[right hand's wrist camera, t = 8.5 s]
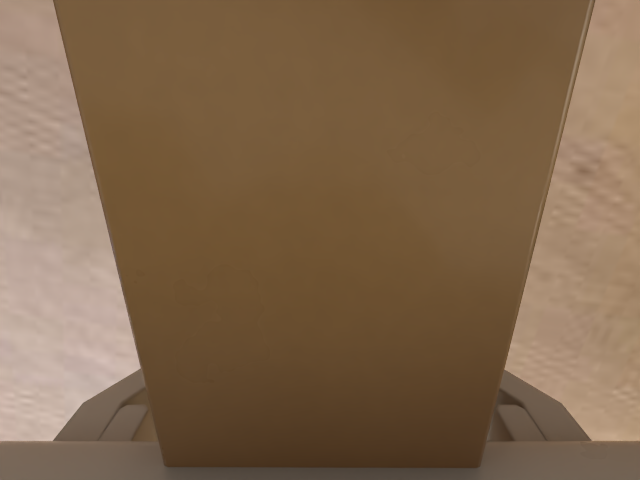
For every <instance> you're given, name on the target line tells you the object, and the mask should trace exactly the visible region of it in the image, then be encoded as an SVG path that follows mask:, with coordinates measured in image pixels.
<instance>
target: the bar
mask: <svg viewBox="0 0 640 480" xmlns="http://www.w3.org/2000/svg"><path fill="white" fill-rule="evenodd" d="M53 2H54V6H55V10H56V14H57V19H58V23H59V27H60V31H61V35H62V40H63V44H64V48H65V52H66V56H67V61H68V65H69V69H70V73H71V77H72V81H73V86H74V90H75V94H76V98H77V102H78V107H79V111H80V115H81V119H82V123H83V128H84V132H85V136H86V140H87V144H88V148H89V153H90V157H91V161H92V165H93V169H94V174H95V178H96V182H97V186H98V190H99V194H100V199H101V203H102V207H103V211H104V215H105V220H106V224H107V228H108V232H109V236H110V241H111V245H112V249H113V253H114V257H115V261H116V266H117V270H118V274H119V278H120V282H121V287H122V291H123V295H124V299H125V303H126V308H127V312H128V316H129V320H130V324H131V328H132V333H133V337H134V341H135V345H136V349H137V354H138V358H139V362H140V366H141V370H142V374H143V379H144V383H145V387H146V391H147V395H148V400H149V404H150V408H151V412H152V416H153V421H154V425H155V429H156V433H157V437H158V441H159V446H160V450H161V454H162V458H163V462H164V466H167V467H290V468H478V467H480V465H481V461H482V457H483V453H484V449H485V445H486V441H487V437H488V433H489V429H490V424H491V420H492V416H493V412H494V408H495V404H496V400H497V396H498V392H499V388H500V384H501V380H502V376H503V372H504V368H505V364H506V360H507V356H508V352H509V348H510V344H511V339H512V335H513V331H514V327H515V323H516V319H517V315H518V311H519V307H520V303H521V299H522V295H523V291H524V287H525V283H526V279H527V275H528V271H529V267H530V263H531V258H532V254H533V250H534V246H535V242H536V238H537V234H538V230H539V226H540V222H541V218H542V214H543V210H544V206H545V202H546V198H547V194H548V190H549V186H550V182H551V177H552V173H553V169H554V165H555V161H556V157H557V153H558V149H559V145H560V141H561V137H562V133H563V129H564V125H565V121H566V117H567V113H568V109H569V105H570V101H571V96H572V92H573V88H574V84H575V80H576V76H577V72H578V68H579V64H580V60H581V56H582V52H583V48H584V44H585V40H586V36H587V32H588V28H589V24H590V20H591V15H592V11H593V7H594V3H595V0H53Z"/></svg>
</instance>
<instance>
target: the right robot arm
mask: <svg viewBox="0 0 640 480" xmlns="http://www.w3.org/2000/svg"><path fill="white" fill-rule="evenodd" d="M0 480H640V441H591V439H590V438H589V437H588V436H587V434H586V433H585V432H584V431H583V429H582V428H581V427H580V426H579V424H578V423H577V422H576V421H575V419H574V418H573V417H572V416H571V414H570V413H569V412H568V411H567V410H566V408H565V407H564V406H563V405H562V404H561V403H560V402H558V401H556V400H555V399H553V398H551V397H550V396H548V395H546V394H545V393H543V392H541V391H540V390H538V389H536V388H535V387H533V386H531V385H529V384H528V383H526V382H524V381H523V380H521V379H519V378H518V377H516V376H514V375H513V374H511V373H509V372H508V371H506V370H504V372H503V376H502V380H501V384H500V388H499V392H498V396H497V400H496V404H495V408H494V412H493V416H492V420H491V424H490V429H489V433H488V437H487V441H486V445H485V449H484V453H483V457H482V461H481V465H480V467H478V468H290V467H167V466H164V462H163V458H162V454H161V450H160V446H159V441H158V437H157V433H156V429H155V425H154V421H153V416H152V412H151V408H150V404H149V400H148V395H147V391H146V387H145V383H144V379H143V374H142V370H141V369H139V370H138V371H136V372H134V373H133V374H131V375H129V376H128V377H126V378H124V379H123V380H121V381H119V382H118V383H116V384H114V385H113V386H111V387H109V388H108V389H106V390H104V391H102V392H101V393H99V394H97V395H96V396H94V397H92V398H91V399H89V400H87V401H86V402H84V403H83V404H82V405H81V406H80V408H79V409H78V410H77V411H76V413H75V414H74V415H73V416H72V418H71V419H70V420H69V421H68V423H67V424H66V425H65V426H64V428H63V429H62V430H61V431H60V433H59V434H58V435H57V436H56V438H55V439H54V440H53V441H0Z"/></svg>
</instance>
